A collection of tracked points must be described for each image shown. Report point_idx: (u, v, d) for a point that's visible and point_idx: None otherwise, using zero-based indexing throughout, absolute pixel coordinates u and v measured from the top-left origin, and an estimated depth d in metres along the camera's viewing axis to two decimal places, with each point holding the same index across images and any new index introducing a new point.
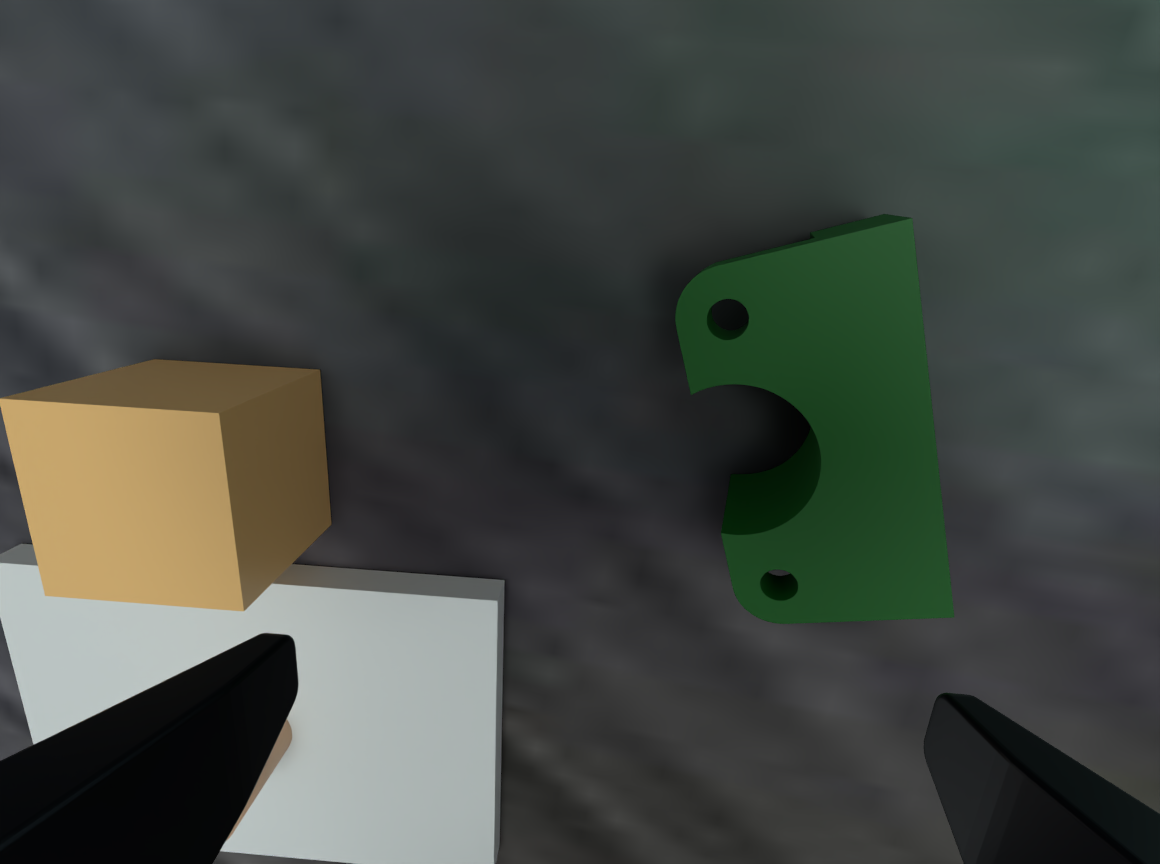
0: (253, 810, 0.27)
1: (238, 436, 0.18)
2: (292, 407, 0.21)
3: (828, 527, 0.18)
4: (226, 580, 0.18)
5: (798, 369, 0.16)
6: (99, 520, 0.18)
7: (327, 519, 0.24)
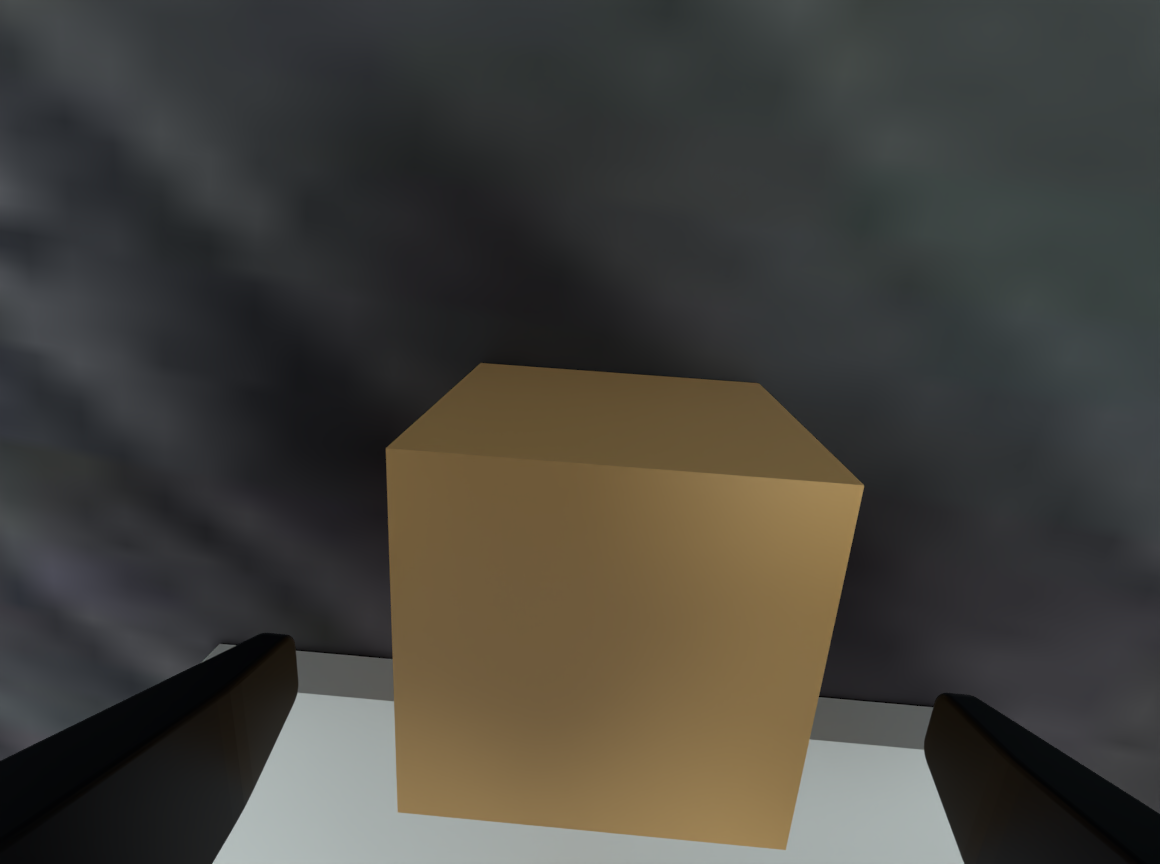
0: None
1: None
2: None
3: None
4: (769, 796, 0.09)
5: None
6: (541, 685, 0.09)
7: None
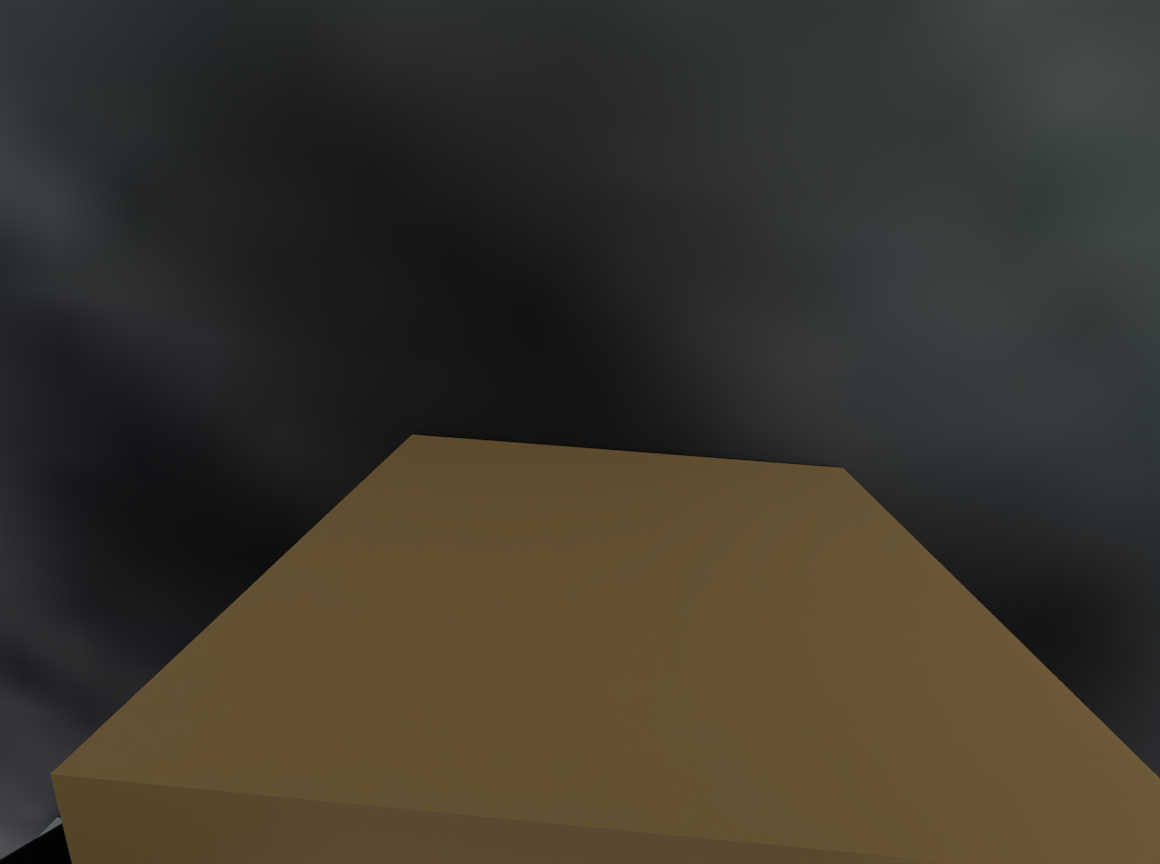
0: None
1: None
2: None
3: None
4: None
5: None
6: None
7: None
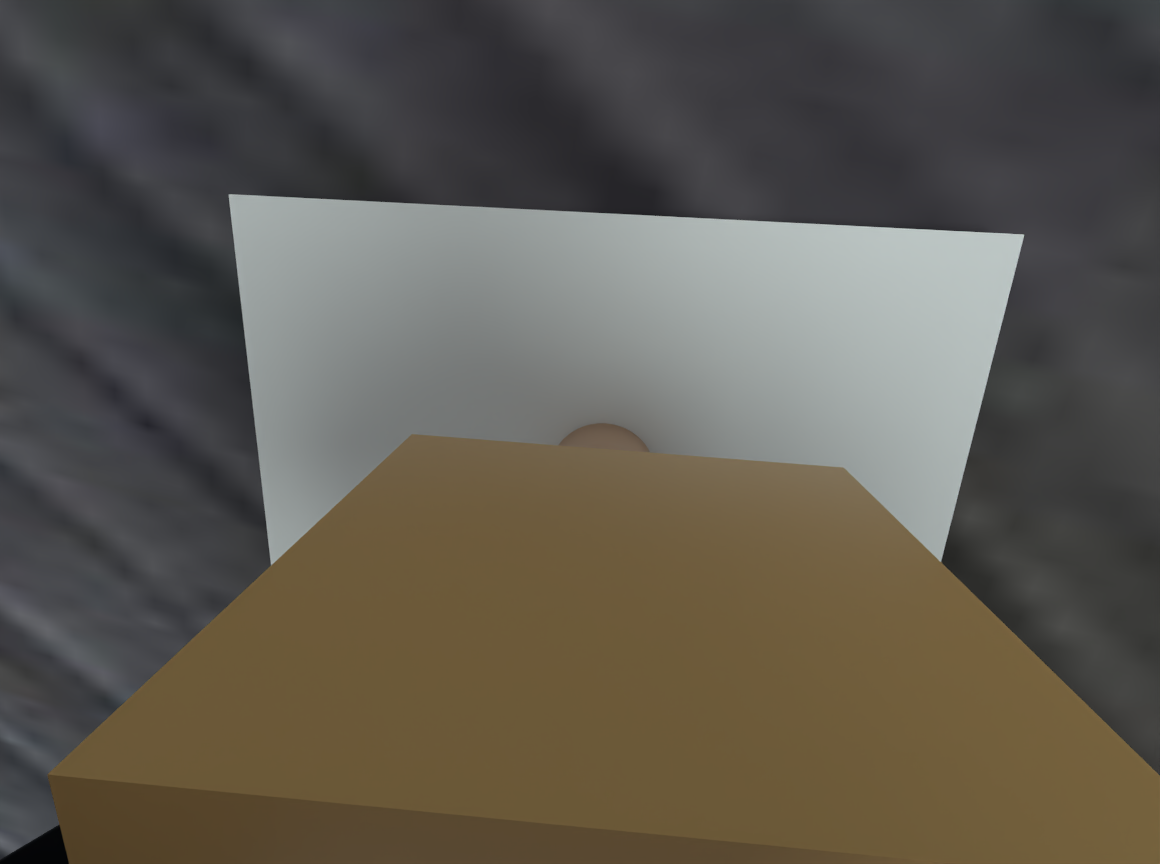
0: None
1: None
2: None
3: None
4: None
5: None
6: None
7: None
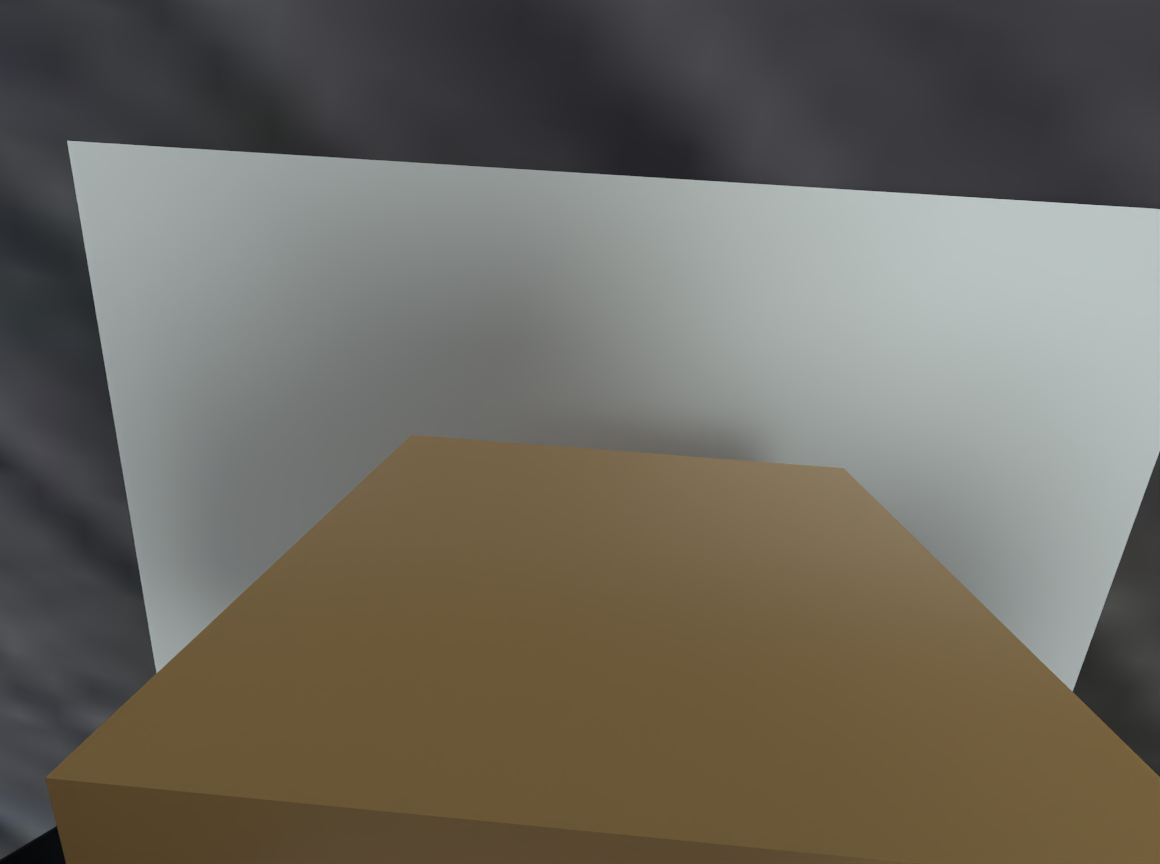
0: None
1: None
2: None
3: None
4: None
5: None
6: None
7: None
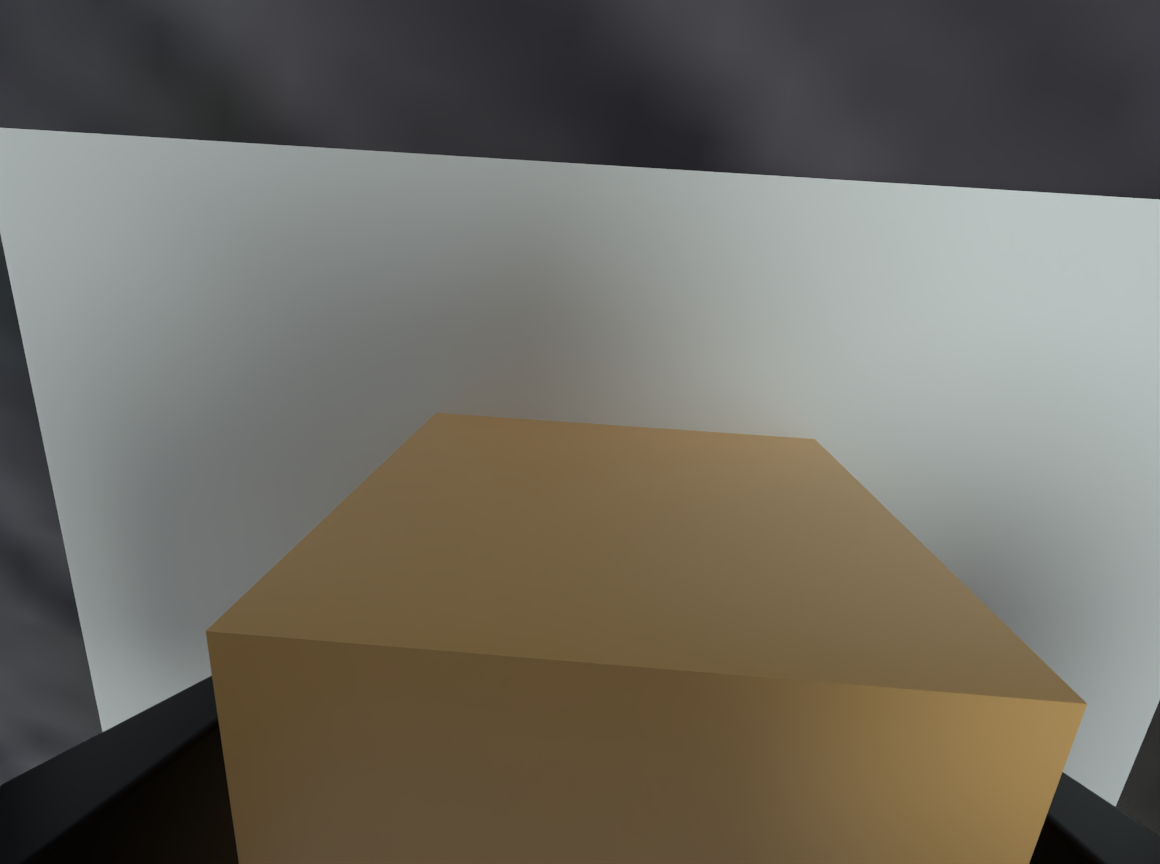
0: None
1: None
2: None
3: None
4: None
5: None
6: None
7: None
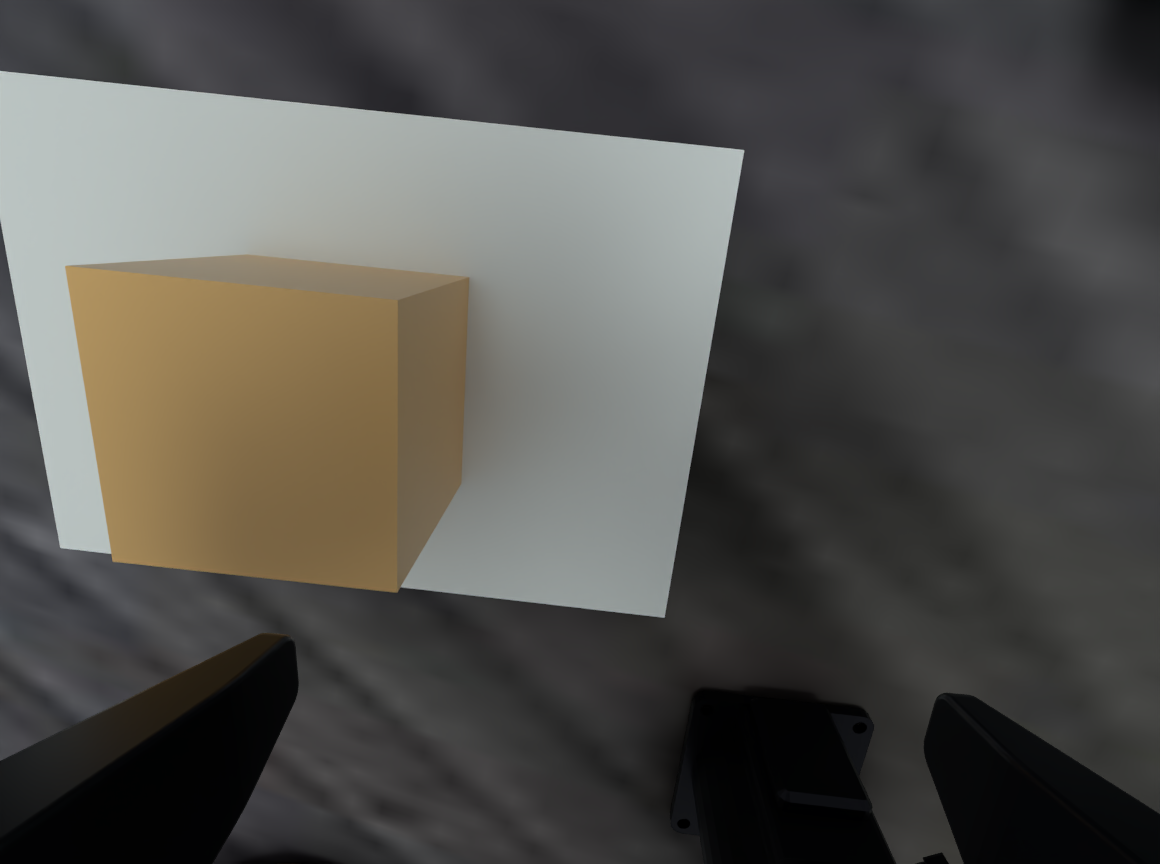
0: None
1: (410, 342, 0.12)
2: (448, 318, 0.15)
3: None
4: (377, 547, 0.13)
5: None
6: (201, 455, 0.12)
7: (459, 476, 0.18)
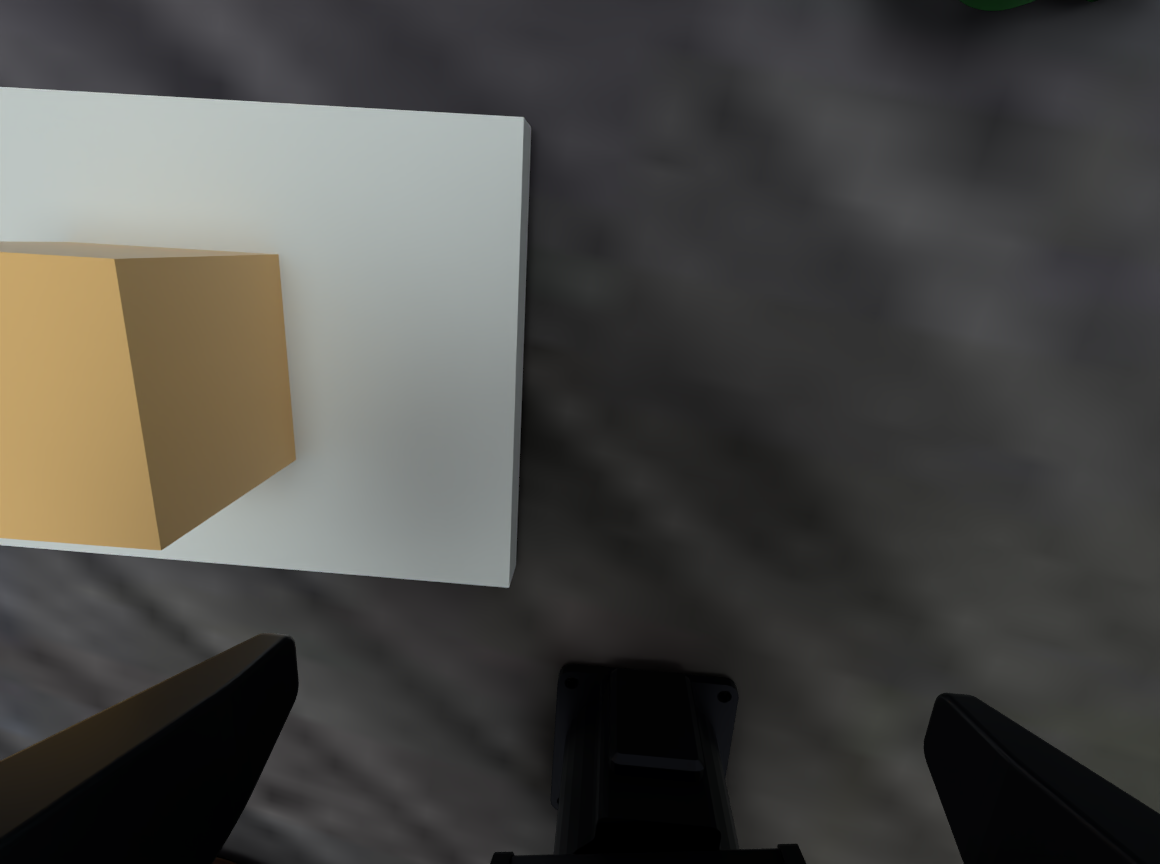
0: None
1: (149, 303, 0.13)
2: (237, 290, 0.16)
3: None
4: (135, 505, 0.13)
5: None
6: None
7: (290, 452, 0.19)
